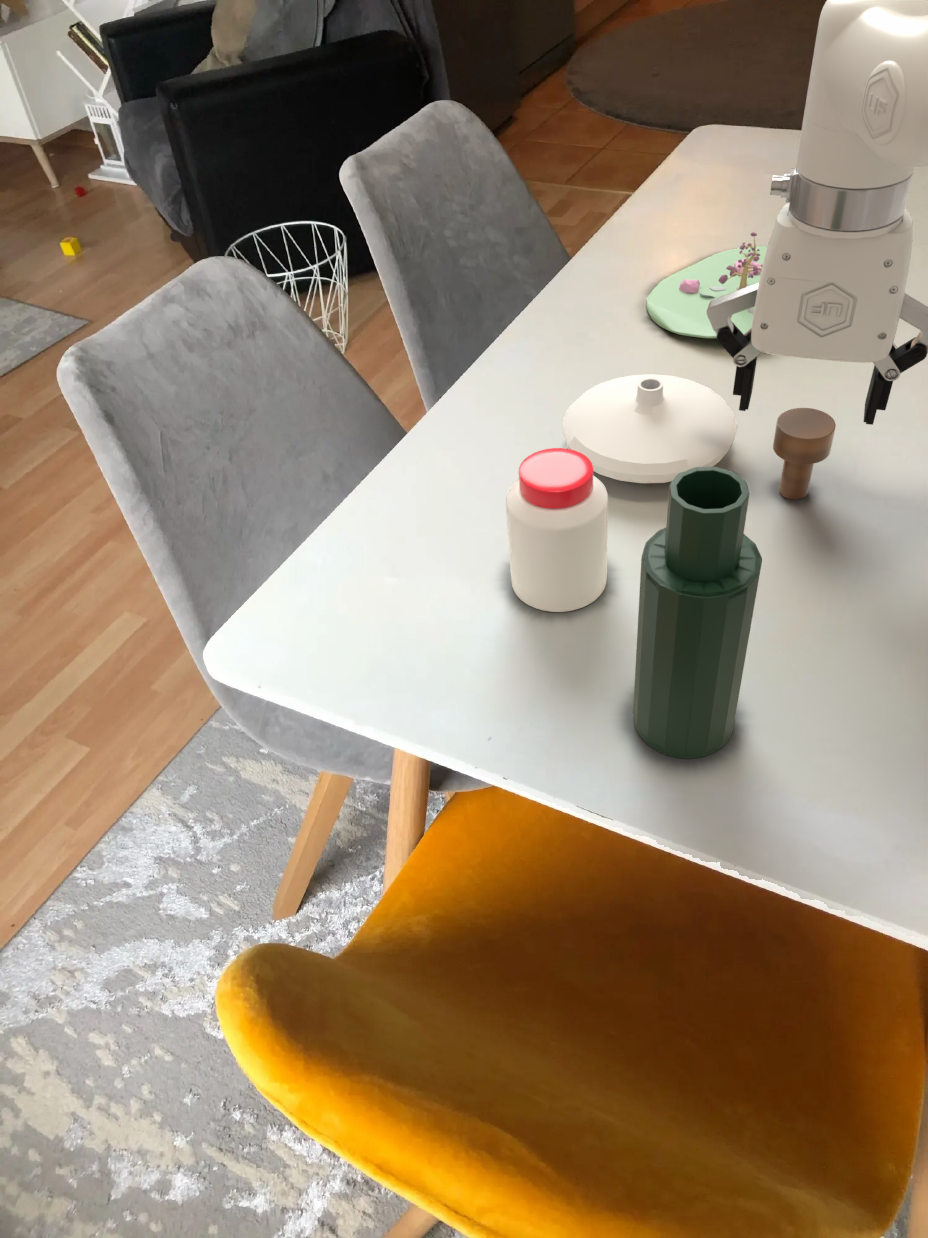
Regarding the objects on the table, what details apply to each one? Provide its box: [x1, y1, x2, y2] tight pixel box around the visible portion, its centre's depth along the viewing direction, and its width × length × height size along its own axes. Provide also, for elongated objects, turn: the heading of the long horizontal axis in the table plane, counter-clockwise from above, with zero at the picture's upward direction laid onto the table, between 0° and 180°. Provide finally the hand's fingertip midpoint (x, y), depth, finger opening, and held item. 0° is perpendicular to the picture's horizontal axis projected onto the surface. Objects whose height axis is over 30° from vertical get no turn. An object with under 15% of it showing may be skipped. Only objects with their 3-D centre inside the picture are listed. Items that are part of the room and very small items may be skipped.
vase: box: [561, 373, 739, 484], centre depth 87 cm, size 16×16×7 cm
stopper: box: [772, 407, 837, 500], centre depth 81 cm, size 5×5×7 cm
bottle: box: [632, 466, 763, 759], centre depth 60 cm, size 7×7×20 cm
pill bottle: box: [505, 447, 609, 613], centre depth 74 cm, size 8×8×11 cm
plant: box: [645, 231, 767, 339], centre depth 106 cm, size 25×21×9 cm
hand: (805, 408), depth 78 cm, fingers open, 9 cm apart
